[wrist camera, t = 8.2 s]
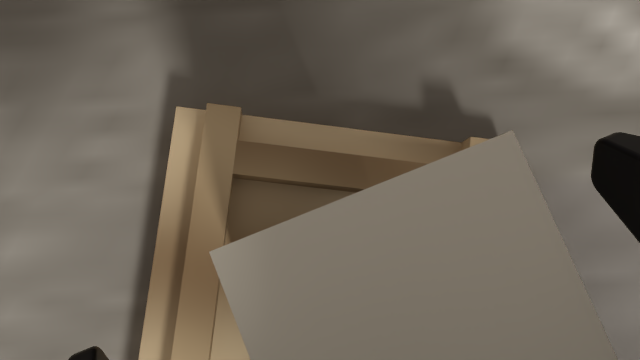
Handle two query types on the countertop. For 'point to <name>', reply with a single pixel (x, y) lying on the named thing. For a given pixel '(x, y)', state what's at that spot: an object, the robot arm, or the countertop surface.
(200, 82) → the countertop surface
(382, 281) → the plain gray box
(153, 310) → the wooden tray
